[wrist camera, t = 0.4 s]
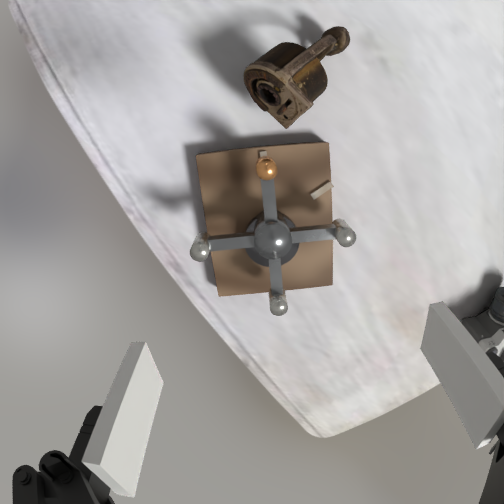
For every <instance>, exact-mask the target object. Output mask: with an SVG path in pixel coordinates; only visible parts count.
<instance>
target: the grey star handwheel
mask: <svg viewBox="0 0 504 504" xmlns="http://www.w3.org/2000/svg"><path fill="white" fill-rule="evenodd" d="M256 171H257V175H258V176H259V177H260V180H261V189H262V199H263V209H264V210H263V211H261V212H260V213H259V214H258V215H257V216H256V217H254V218H253V219H252V220H251V221H250V222H249V224H248V225H247V227H246V230H245V232H243V233H233V234H223V235H214V236H210V235H209V234H208V233H205V232H201V233H199V234H198V235H197V236H196V238H195V240H194V242H193V245H192V247H191V249H190V256H191V257H192V259H194V260H195V261H198V262H202V261H204V260H206V259H207V258H208V255H209V252H211V251H221V250H231V249H241V248H245V250H246V252H247V254H248V256H249V257H250V258H251V259H252V260H253V261H254V262H256V263H257V264H259V265H262V266H266V267H269V272H270V282H271V288H270V290H269V301H270V311H271V313H272V314H274V315H276V316H281V315H283V314H285V313H286V312H287V310H288V306H287V300H286V295H285V290H284V288H283V285H282V271H281V265H283V264H285V263H287V262H289V261H290V260H291V259H292V258H293V257H294V256H295V254H296V253H297V251H298V248H299V244H300V243H302V242H312V241H322V240H332V239H337V241H338V242H339V244H340V245H341V246H343V247H349V246H351V245H353V244H354V242H355V241H356V234H355V232H354V231H353V230H352V229H351V228H350V227H349V225H348V224H347V223H346V222H345V221H344V220H342V219H336V220H334V221H333V222H332V224H325V225H314V226H303V227H296V226H295V224H294V222H293V221H292V220H291V219H290V218H289V217H288V216H286V215H284V214H282V213H281V212H279V211H278V210H277V208H276V197H275V186H274V177H275V176H276V174H277V166H276V164H275V162H274V161H273V159H272V158H271V157H269V156H262V157H260V158H259V159H258V160H257V162H256Z"/></svg>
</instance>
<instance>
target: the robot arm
mask: <svg viewBox="0 0 504 504" xmlns="http://www.w3.org/2000/svg"><path fill="white" fill-rule="evenodd" d="M420 349H421V350H422V352H423V354H424V355H425V357H426V359H427V360H428V362H429V364H430V365H431V367H432V369H433V370H434V372H435V374H436V376H437V377H438V379H439V381H440V382H441V384H442V386H443V388H444V389H445V391H446V393H447V395H448V397H449V398H450V400H451V402H452V404H453V406H454V408H455V409H456V411H457V413H458V415H459V417H460V419H461V421H462V423H463V425H464V427H465V428H466V430H467V432H468V434H469V436H470V438H471V440H472V442H473V444H474V446H475V449H478V448H480V447H482V446H484V445H486V444H488V443H490V442H491V441H492V439H493V438H494V436H495V435H497V436H498V438H499V440H498V441H497V443H496V444H495V445H494V446H493V447H492V449H491V450H490V452H489V454H491V453H492V452H493V451H494V450H495V451H494V456H493V459H492V463H491V467H490V470H489V474H488V477H487V480H486V484H485V487H484V490H483V493H482V496H481V498H480V502H479V504H504V361H503V360H502V359H501V357H499V356H498V355H496V354H495V353H493V352H492V351H491V352H489V353H485V352H484V351H483V350H482V348H481V347H480V346H479V344H478V343H477V342H476V341H475V339H474V338H473V337H472V336H471V334H470V333H469V332H468V331H467V329H466V328H465V327H464V326H463V325H462V323H461V322H460V321H459V320H458V319H457V317H456V316H455V315H454V314H453V313H452V311H451V310H450V309H449V308H448V307H447V306H446V304H445V303H444V302H443V301H442V302H438V303H434V304H430V306H429V311H428V316H427V321H426V326H425V331H424V336H423V340H422V344H421V348H420ZM162 386H163V381H162V378H161V376H160V374H159V372H158V369H157V367H156V365H155V363H154V360H153V358H152V356H151V353H150V351H149V349H148V347H147V344H146V342H131V344H130V346H129V348H128V350H127V352H126V355H125V357H124V359H123V361H122V363H121V365H120V368H119V370H118V372H117V375H116V377H115V379H114V381H113V384H112V386H111V388H110V391H109V393H108V395H107V398H106V400H105V403H104V405H103V406H94V407H93V408H92V409H91V410H90V411H89V412H88V413H87V415H86V417H85V420H84V422H83V426H82V427H81V429H80V433H79V434H78V436H77V439H76V441H75V443H74V446H73V448H72V451H71V454H70V456H69V458H68V457H67V456H66V455H65V454H64V453H62V452H60V451H56V450H54V451H49V452H48V453H46V454H45V455H44V456H43V457H42V458H41V460H40V463H39V470H40V471H41V472H37V471H36V470H35V469H34V468H33V467H31V466H29V465H23V466H20V467H19V468H17V469H16V471H15V472H14V474H13V504H115V503H114V501H113V500H112V498H111V497H110V496H109V492H110V489H111V490H113V491H114V492H115V493H116V494H118V495H123V496H129V497H135V492H136V488H137V484H138V479H139V475H140V471H141V467H142V463H143V459H144V455H145V450H146V447H147V443H148V439H149V435H150V431H151V426H152V423H153V419H154V416H155V412H156V408H157V404H158V401H159V397H160V393H161V390H162Z"/></svg>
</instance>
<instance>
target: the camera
mask: <svg viewBox="0 0 504 504" xmlns="http://www.w3.org/2000/svg"><path fill="white" fill-rule="evenodd" d="M461 323H462V325H463V326H464V327H465V328H466V329H467V331H468V332H469V333H470V334H471V336H472V337H473V338H474V339H475V341H476V342H477V343H478V344H479V346H480V347H481V348H482V350H483V351H484V352H485V353H489V352H491V351H492V352H493V353H495V354H496V355H498V356H499V357H501V359H502V360H503V361H504V287H500V288H498V289H497V291H496V293H495V298H494V299H493V301H492V303H491V305H490V309H488V310H486V311H484V312H483V313H481V314H479V315H478V316H476V317H470V318H464V319H463V320H462V321H461Z"/></svg>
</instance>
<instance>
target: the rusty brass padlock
mask: <svg viewBox="0 0 504 504" xmlns="http://www.w3.org/2000/svg"><path fill="white" fill-rule="evenodd" d="M349 43H350V36H349V32H348V31H347V29H346V28H344V27H339V26H338V27H333V28H331V29H329V30H327V31H325V32H324V33H323V35H322V37H321V39H320V40H318V41H317V42H316V43H314V44H313V45H311V46H310V47H309V48H307V49H306V48H304V47H302V46H300V45H298V44H295V43H290V42H284V43H281V44H279V45H277V46H275V47H274V48H272V49H271V50H270V51H268V52H267V53H266V54H264V55H263V56H261V57H260V58H259V59H258V60H256V61H255V62H254V63H251V64H250V65H249V66H248V67H246V69H245V71H244V83H245V85H246V87H247V89H248V91H249V93H250V95H251V97H252V99H253V100H254V102H255V103H257V105H258V106H259V107H260V108H261V109H262V110H263V111H267V112H269V113H270V114H271V115H272V116H273V117H274V118H275V119H276V120H277V121H278V122H279V123H280V124H281V125H282V126H284V127H285V128H286V129H287V128H288V127H289V126H290V125H292V124H293V123H294V122H295V120H296V119H298V118H299V117H300V116H301V115H302V114H303V113H305V112H306V111H307V110H308V109H310V108H311V107H312V105H313V101H314V100H315V99H316V98H317V97H319V96H320V95H321V94H322V93H323V92H324V91H325V89H326V87H327V81H328V79H327V75H326V72H325V70H324V68H323V66H322V65H321V63H320V61H321V60H322V59H323V58H324V57H325V56H326V55H327V56H332V55H335V54H338V53H340V52H342V51H344V50H345V48H346V47H347V46H348V45H349Z"/></svg>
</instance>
